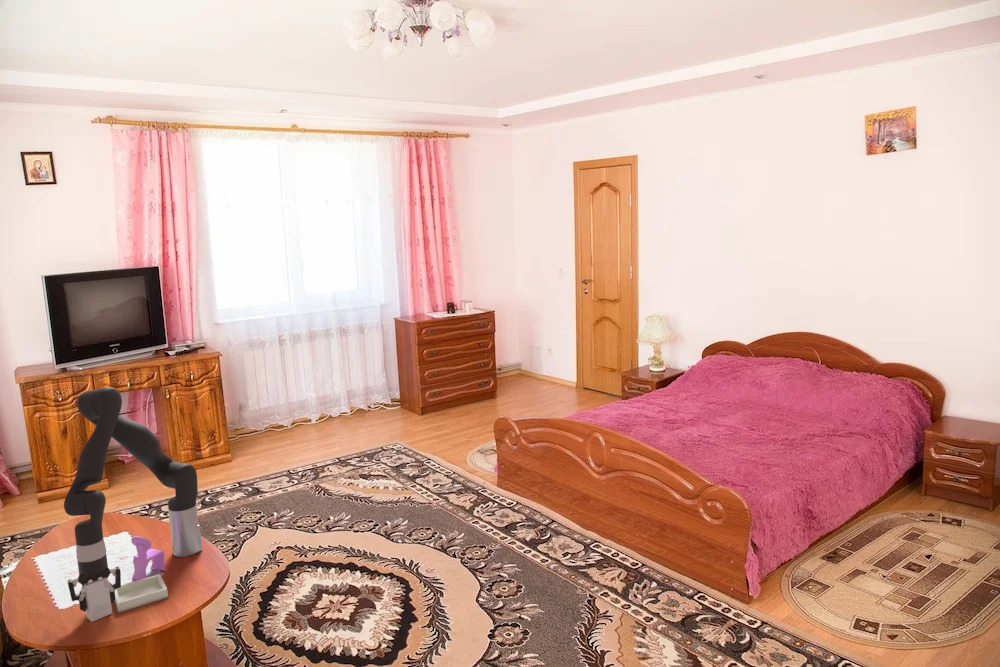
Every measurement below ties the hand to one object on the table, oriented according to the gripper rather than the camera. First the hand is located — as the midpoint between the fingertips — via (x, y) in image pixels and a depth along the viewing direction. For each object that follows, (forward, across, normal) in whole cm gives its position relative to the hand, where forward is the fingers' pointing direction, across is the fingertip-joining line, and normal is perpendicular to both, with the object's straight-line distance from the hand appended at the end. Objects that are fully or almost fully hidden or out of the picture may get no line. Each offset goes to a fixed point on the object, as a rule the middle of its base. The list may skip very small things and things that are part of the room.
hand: (98, 606), depth 211 cm
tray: (+3, -12, -4) cm, 13 cm away
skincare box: (+3, 0, 0) cm, 3 cm away
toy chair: (+4, -17, -19) cm, 26 cm away
